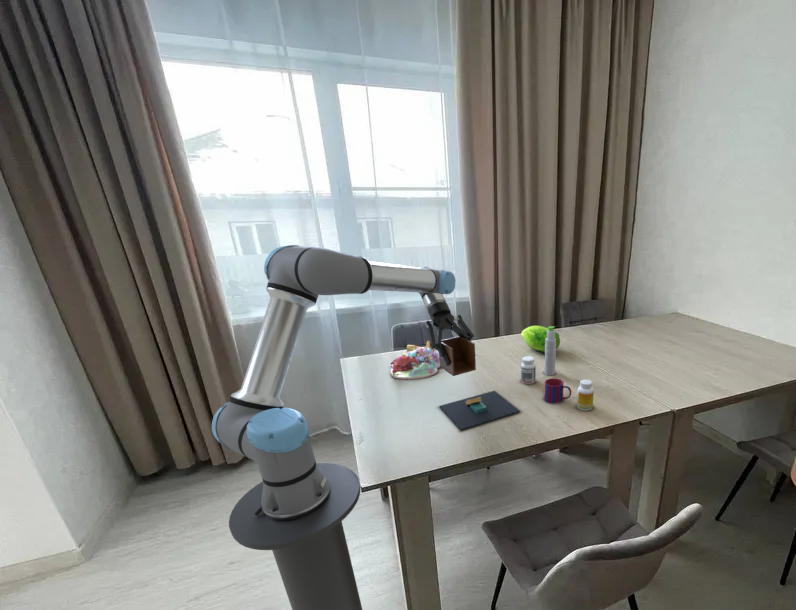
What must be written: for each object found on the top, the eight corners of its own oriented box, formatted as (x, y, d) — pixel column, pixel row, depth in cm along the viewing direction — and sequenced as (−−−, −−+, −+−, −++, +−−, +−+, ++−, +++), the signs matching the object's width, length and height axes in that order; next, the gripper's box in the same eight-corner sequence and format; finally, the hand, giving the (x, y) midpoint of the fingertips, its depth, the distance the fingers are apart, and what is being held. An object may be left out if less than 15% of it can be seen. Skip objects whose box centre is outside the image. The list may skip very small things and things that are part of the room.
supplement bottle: (594, 410, 136) (596, 384, 132) (578, 411, 136) (580, 385, 132) (590, 403, 141) (592, 378, 137) (575, 403, 141) (576, 378, 137)
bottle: (556, 374, 164) (558, 328, 156) (546, 375, 163) (548, 329, 155) (552, 370, 168) (554, 324, 160) (542, 371, 167) (543, 326, 159)
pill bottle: (528, 377, 162) (528, 354, 158) (538, 381, 158) (538, 358, 154) (518, 381, 158) (518, 358, 154) (528, 385, 154) (528, 362, 151)
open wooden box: (440, 367, 143) (437, 340, 139) (461, 361, 148) (460, 335, 144) (453, 376, 136) (451, 348, 132) (475, 369, 141) (474, 343, 137)
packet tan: (470, 399, 135) (471, 403, 135) (480, 396, 137) (481, 400, 137) (465, 401, 140) (466, 405, 139) (475, 398, 141) (476, 402, 141)
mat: (461, 430, 125) (460, 429, 125) (439, 407, 139) (439, 405, 139) (519, 412, 136) (519, 410, 135) (494, 392, 150) (494, 390, 150)
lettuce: (533, 341, 202) (533, 319, 197) (567, 353, 186) (568, 329, 181) (514, 347, 194) (514, 324, 190) (547, 360, 178) (548, 335, 174)
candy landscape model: (389, 360, 180) (386, 340, 177) (441, 353, 187) (439, 335, 183) (391, 382, 159) (388, 360, 155) (450, 374, 165) (448, 353, 162)
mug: (551, 393, 149) (551, 376, 146) (574, 401, 143) (575, 383, 140) (540, 399, 144) (541, 382, 141) (564, 408, 138) (564, 390, 135)
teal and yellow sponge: (476, 410, 133) (476, 413, 134) (487, 406, 135) (487, 410, 136) (470, 404, 137) (470, 407, 138) (480, 401, 139) (480, 404, 140)
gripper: (460, 307, 152) (484, 358, 147) (406, 317, 141) (430, 372, 135) (466, 296, 146) (491, 348, 141) (410, 305, 135) (435, 363, 129)
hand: (461, 360), depth 138 cm, fingers closed on open wooden box, 9 cm apart
